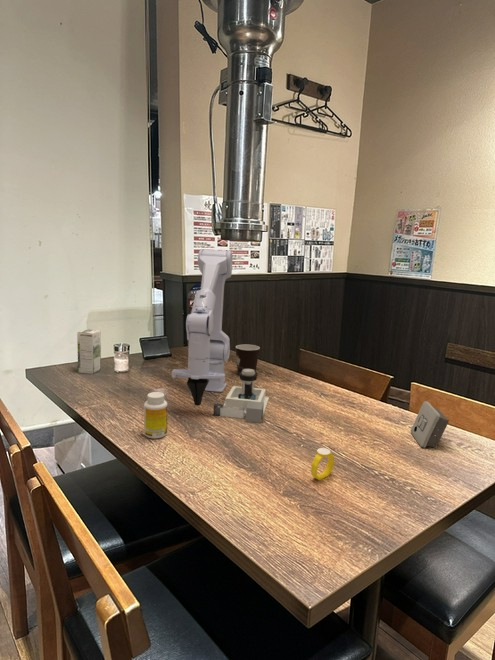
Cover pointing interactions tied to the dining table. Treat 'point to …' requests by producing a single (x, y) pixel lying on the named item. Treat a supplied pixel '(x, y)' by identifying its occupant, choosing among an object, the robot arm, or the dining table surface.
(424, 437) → the electrical switch
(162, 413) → the supplement bottle
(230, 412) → the pin
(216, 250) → the robot arm
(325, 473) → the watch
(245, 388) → the push button
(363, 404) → the dining table surface
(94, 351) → the syrup box
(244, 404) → the dock
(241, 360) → the coffee mug
